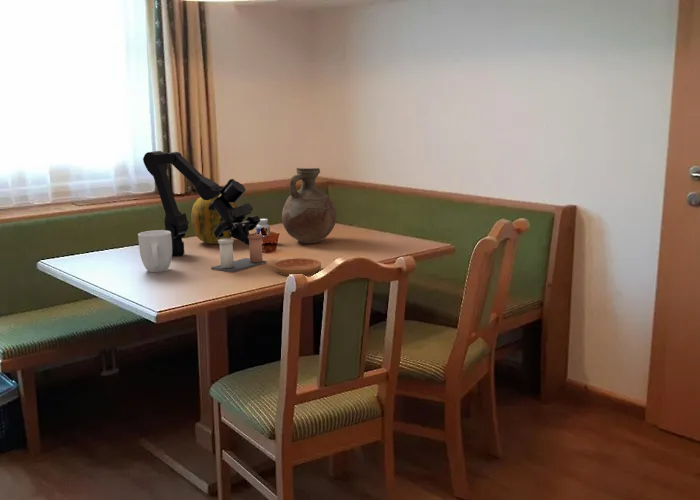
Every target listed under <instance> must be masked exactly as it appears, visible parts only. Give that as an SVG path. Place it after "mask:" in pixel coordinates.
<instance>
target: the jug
mask: <svg viewBox="0 0 700 500" xmlns="http://www.w3.org/2000/svg"><path fill="white" fill-rule="evenodd" d="M295 171H296V174H295V175H293V176H292V177H291V178H290V180H289V184H288V185H289V193H290V195H289V196H288V197H287V198H286V201H285V204H284V205H283V208H282V212H281V219H282V220H281V222H282V225H283V228H284V229H285V231H286V233H287V234H288V235H289V236H290V237H292V239H295V240H297V242H298V243H299V244H302V245H303V244H315V243H320V242H322V240H323V239H326V237H328V235H330V234H331V233H332V232H333V229H334V227H335V225H336V223H337V211H336V208H335V205H334V203H333V201H332V199H331V197H330V196H329V195H328V194H326V193H325V192H323V191H322V190H319V189H318V188H317V185H316V178H317V177H319V174H320V173H321V169H320V168H319V167H316V168H315V167H314V168H313V167H311V168H308V167H307V168H305V167H303V168H302V167H297V168H296V170H295ZM298 181H302V183H301V187H300V189H298V190H297V188H296V185H297V182H298Z"/></svg>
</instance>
